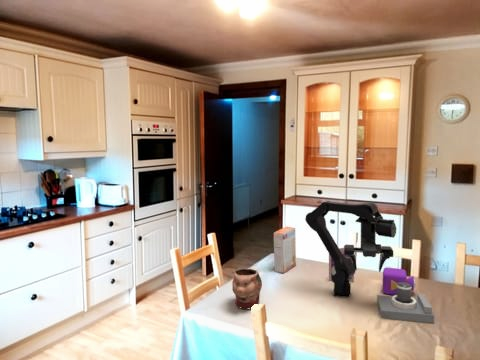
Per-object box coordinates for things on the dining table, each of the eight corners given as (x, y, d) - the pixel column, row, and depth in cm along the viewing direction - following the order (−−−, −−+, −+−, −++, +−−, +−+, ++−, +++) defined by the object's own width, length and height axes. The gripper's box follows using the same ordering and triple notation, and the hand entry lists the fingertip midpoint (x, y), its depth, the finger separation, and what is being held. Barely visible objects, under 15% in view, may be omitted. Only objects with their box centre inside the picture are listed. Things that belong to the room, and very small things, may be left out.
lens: (397, 306, 138) (398, 286, 137) (395, 301, 143) (396, 281, 142) (412, 308, 137) (412, 287, 136) (409, 302, 142) (410, 282, 141)
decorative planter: (237, 292, 162) (236, 262, 160) (264, 293, 160) (264, 263, 158) (228, 313, 142) (227, 279, 140) (259, 315, 140) (258, 280, 138)
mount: (381, 318, 136) (381, 304, 135) (376, 301, 149) (377, 289, 149) (433, 323, 131) (434, 309, 131) (424, 305, 145) (425, 293, 144)
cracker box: (286, 263, 197) (286, 226, 195) (296, 265, 194) (296, 227, 191) (273, 271, 186) (272, 231, 183) (283, 273, 182) (283, 233, 180)
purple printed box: (328, 281, 171) (328, 250, 170) (328, 275, 179) (328, 246, 177) (353, 282, 169) (354, 251, 167) (352, 277, 176) (352, 247, 174)
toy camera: (418, 298, 152) (419, 275, 150) (383, 296, 154) (384, 273, 153) (411, 288, 162) (412, 266, 161) (379, 286, 165) (379, 265, 164)
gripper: (344, 238, 141) (344, 276, 143) (396, 240, 137) (395, 279, 138) (343, 231, 152) (343, 266, 154) (391, 232, 147) (390, 269, 149)
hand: (367, 270), depth 149 cm, fingers open, 9 cm apart
